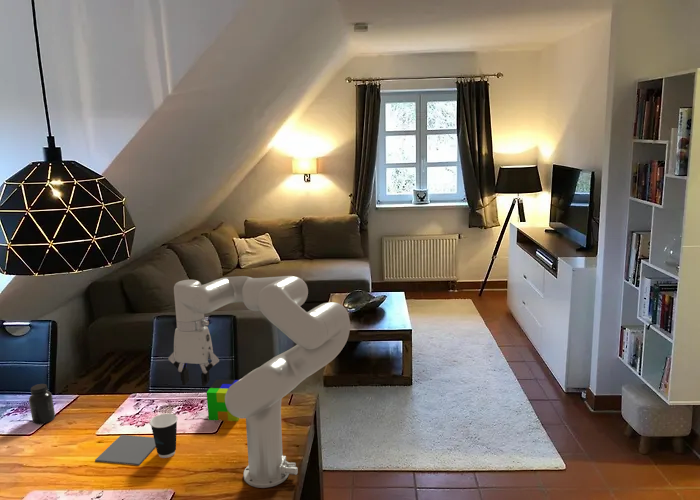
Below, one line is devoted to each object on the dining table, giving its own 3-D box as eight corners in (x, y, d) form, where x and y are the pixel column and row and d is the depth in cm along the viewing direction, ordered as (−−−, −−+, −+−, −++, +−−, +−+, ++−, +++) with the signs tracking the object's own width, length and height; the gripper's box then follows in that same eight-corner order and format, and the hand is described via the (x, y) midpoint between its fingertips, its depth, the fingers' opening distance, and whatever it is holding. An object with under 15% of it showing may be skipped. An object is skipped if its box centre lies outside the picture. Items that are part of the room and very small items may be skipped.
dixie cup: (182, 445, 178) (179, 412, 176) (177, 459, 171) (174, 425, 168) (156, 447, 178) (153, 414, 175) (150, 461, 170) (146, 427, 168)
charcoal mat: (162, 439, 182) (162, 438, 182) (139, 465, 168) (139, 463, 168) (121, 436, 184) (121, 434, 184) (95, 461, 171) (95, 459, 171)
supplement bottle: (48, 412, 200) (44, 380, 197) (59, 418, 196) (54, 385, 193) (28, 421, 195) (23, 388, 192) (38, 427, 191) (33, 393, 188)
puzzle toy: (246, 406, 202) (244, 380, 200) (237, 421, 192) (236, 393, 190) (218, 405, 203) (216, 379, 201) (208, 420, 193) (206, 392, 191)
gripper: (224, 320, 165) (228, 379, 169) (168, 318, 168) (173, 376, 172) (214, 330, 158) (218, 391, 162) (155, 327, 161) (161, 387, 165)
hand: (195, 383), depth 167 cm, fingers open, 5 cm apart
